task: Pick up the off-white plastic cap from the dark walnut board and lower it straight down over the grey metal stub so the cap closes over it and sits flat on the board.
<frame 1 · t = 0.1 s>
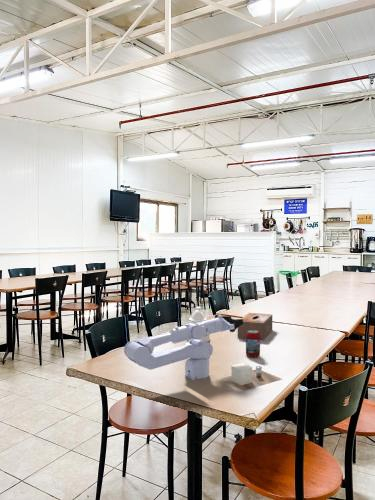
hand: (236, 320, 168), 22 cm above the table, tool horizontal, fingers open, 7 cm apart
beverage can: (252, 356, 188), on the table
board: (251, 382, 154), on the table
cap: (241, 381, 151), point 1 cm above the table, touching board
stub: (258, 380, 156), resting on board
tissue box cover: (255, 334, 229), on the table
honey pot: (198, 340, 217), on the table
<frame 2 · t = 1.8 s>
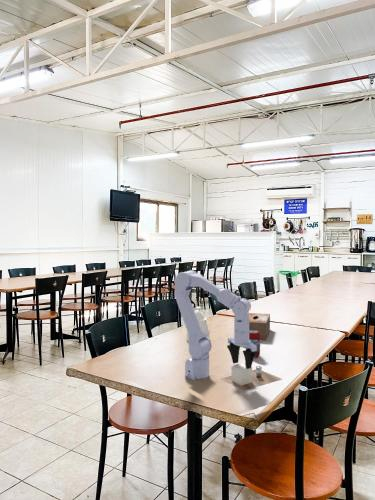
hand: (241, 365, 150), 8 cm above the table, tool pointing down, fingers open, 7 cm apart
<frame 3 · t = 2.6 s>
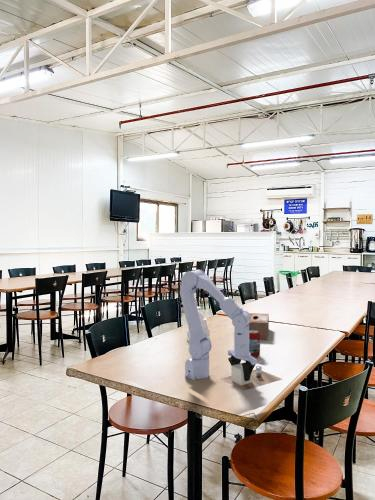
hand: (241, 378, 151), 3 cm above the table, tool pointing down, fingers closed on cap, 6 cm apart
cap: (241, 381, 151), point 2 cm above the table, touching board, gripper
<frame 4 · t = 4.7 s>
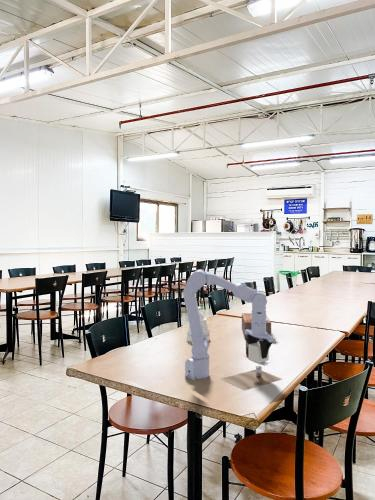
hand: (258, 356, 155), 10 cm above the table, tool pointing down, fingers closed on cap, 6 cm apart
cap: (258, 359, 155), point 8 cm above the table, touching gripper
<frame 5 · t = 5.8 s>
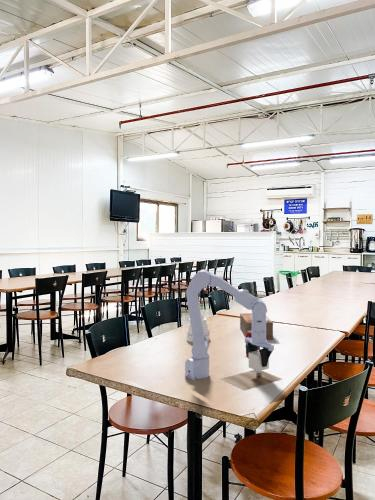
hand: (258, 364, 155), 7 cm above the table, tool pointing down, fingers closed on cap, 6 cm apart
cap: (258, 367, 155), point 5 cm above the table, touching gripper
when the fingers open (4 cm above the table, at t = 6.9 s): cap stays where it is, resting on board.
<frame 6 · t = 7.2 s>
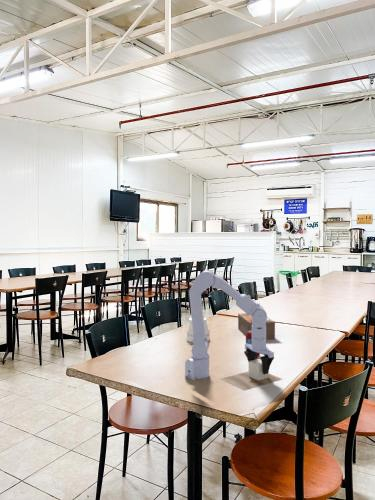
hand: (258, 370, 156), 4 cm above the table, tool pointing down, fingers open, 7 cm apart
cap: (258, 376, 156), point 1 cm above the table, touching board
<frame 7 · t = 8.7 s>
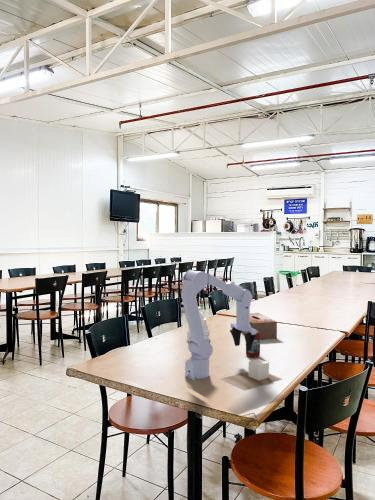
hand: (242, 347, 169), 9 cm above the table, tool pointing down, fingers open, 7 cm apart
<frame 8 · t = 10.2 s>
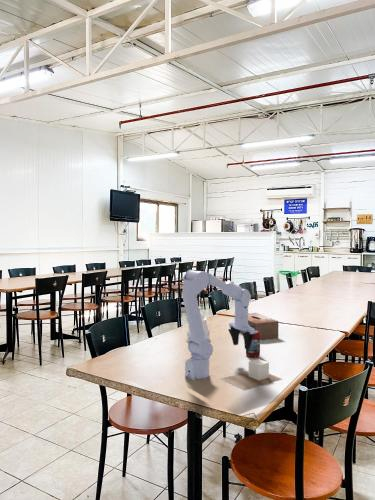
hand: (241, 346, 170), 9 cm above the table, tool pointing down, fingers open, 7 cm apart
at the end: cap 0.1 cm off-centre on the stub, point 1.5 cm above the stub's base; cap tilted 0°; the gripper is holding nothing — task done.
